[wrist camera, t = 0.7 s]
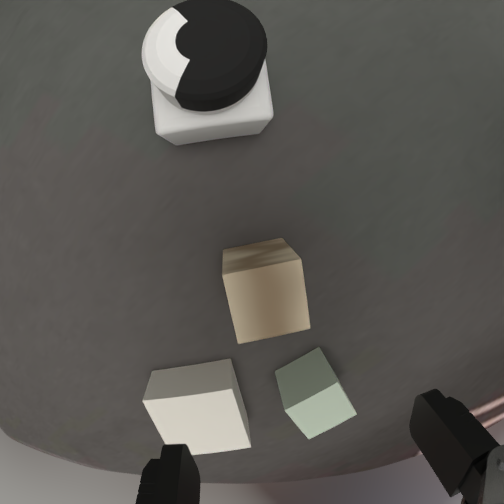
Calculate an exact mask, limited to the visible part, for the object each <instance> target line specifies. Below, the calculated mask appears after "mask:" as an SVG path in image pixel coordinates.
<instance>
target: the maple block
mask: <svg viewBox="0 0 504 504" xmlns="http://www.w3.org/2000/svg"><path fill="white" fill-rule="evenodd" d="M222 276H223V281H224V285H225V290H226V294H227V298H228V303H229V307H230V311H231V316H232V320H233V324H234V328H235V333H236V337H237V341H238V344H240V343H245V342H250V341H256V340H260V339H265V338H270V337H275V336H280V335H284V334H289V333H293V332H298V331H302V330H306V329H310V321H309V313H308V305H307V297H306V290H305V283H304V275H303V268H302V261H301V258H300V257H299V256H298V255H297V254H296V253H295V252H294V250H293V249H292V248H291V247H290V246H289V245H288V244H287V243H286V242H285V241H284V239H283V238H278V239H273V240H268V241H263V242H258V243H253V244H248V245H243V246H238V247H233V248H228V249H223V265H222Z"/></svg>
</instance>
